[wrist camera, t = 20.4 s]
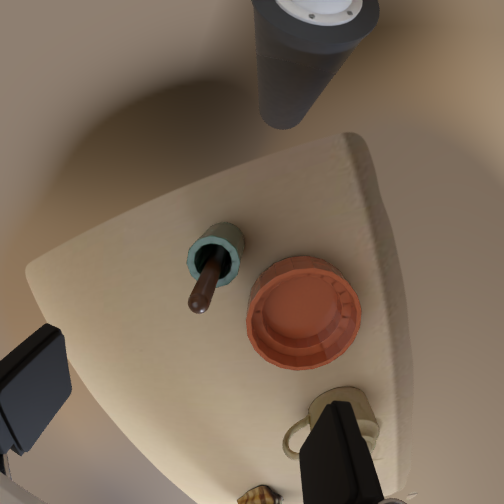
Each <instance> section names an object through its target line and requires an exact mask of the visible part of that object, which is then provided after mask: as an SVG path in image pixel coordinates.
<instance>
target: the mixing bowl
mask: <svg viewBox="0 0 504 504" xmlns="http://www.w3.org/2000/svg"><path fill="white" fill-rule="evenodd" d="M360 322H361V306H360V303H359V299H358V296H357V294H356V292H355V291H354V290H353V288H352V287H351V286H350V284H349V283H348V282H347V280H346V279H345V278H344V277H343V275H342V274H341V273H340V271H339V270H338V269H337V268H336V267H334V266H333V265H331V264H330V263H328V262H326V261H325V260H323V259H319V258H315V257H310V256H299V257H289V258H287V259H284V260H282V261H279V262H276V263H274V264H273V265H272V266H270V267H269V268H268V269H267V270H265V271H264V272H263V273H262V274H261V275H260V276H259V277H258V279H257V281H256V282H255V284H254V285H253V287H252V289H251V292H250V296H249V300H248V307H247V316H246V325H247V335H248V338H249V340H250V342H251V344H252V346H253V348H254V350H255V351H256V352H257V353H258V354H259V355H260V356H262V357H263V358H264V359H265V360H266V361H267V362H270V363H272V364H274V365H276V366H278V367H280V368H285V369H290V370H307V369H314V368H317V367H320V366H323V365H326V364H328V363H330V362H332V361H333V360H335V359H336V358H338V357H339V356H340V355H342V354H343V353H344V352H345V351H346V350H347V348H348V347H349V346H350V345H351V344H352V342H353V341H354V339H355V337H356V335H357V332H358V330H359V328H360Z"/></svg>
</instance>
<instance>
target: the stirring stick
mask: <svg viewBox="0 0 504 504" xmlns="http://www.w3.org/2000/svg"><path fill="white" fill-rule="evenodd" d="M227 253H228V251H227V250H226V249H225V248H224V247H223V246H221V245H217V244H215V246H214V248H213V250H212V252H211V254H210V256H209V258H208V260H207V262H206V264H205V266H204V268H203V270H202V272H201V274H200V276H199V278H198V281H197V283H196V285H195V287H194V289H193V291H192V293H191V295H190V297H189V299H188V306H189V308H190V310H191V311H192V312H194V313H197V314H201V313H204V312H205V311H206V310H207V309H208V308H209V305H210V302H211V299H212V296H213V293H214V290H215V288H216V285H217V282H218V279H219V276H220V273H221V270H222V267H223V265H224V262H225V259H226V256H227Z"/></svg>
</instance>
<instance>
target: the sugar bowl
mask: <svg viewBox="0 0 504 504" xmlns="http://www.w3.org/2000/svg"><path fill="white" fill-rule="evenodd" d="M334 400H336V401H348V402H350V403H351V405H352V408H353V411H354V414H355V417H356V420H357V423H358V426H359V429H360V432H361V435H362V437H363V438H364V439H365V440H366V442H367V445H368V448H369V451H370V454H371V453H372V452H373V450H374V448H375V446H376V440H377V438H378V436H379V426H378V423H377V421H376V418H375V416H374V413H373V411H372V409H371V406H370V404H369V402H368V400H367V398H366V396H365V394H364V393H363V392H362V391H360V390H359V389H356V388H352V387H341V388H336V389H332V390H330V391H327V392H325V393H323V394H322V395H320V396H319V397H317V398H316V399H315V400H314V401H313V403H312V404H311V406H310V408H309V412H308V415H307V416H306V417H305V418H304V419H302V420H300V421H299V422H297V423H296V424H294V425H293V426H292V427H291V428H290V429H289V430H288V431H287V433H286V434H285V436H284V439H283V451H284V453H285V454H286V456H287V457H289V458H290V459H292V460H295V461H299V453H296V452H293V451H292V450H290V449H289V445H288V443H289V439H290V438H291V436H292V435H293V434H294V433H295V432H297V431H298V430H299V429H301V428H303V427H305V426H306V425H308V424H310V430H311V431H312V429H313V427H314V425H315V424H316V422H317V420H318V418H319V417H320V415H321V413H322V411H323V410H324V408H325V406H326V405H327V404H331V402H332V401H334Z"/></svg>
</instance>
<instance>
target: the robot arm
mask: <svg viewBox="0 0 504 504" xmlns="http://www.w3.org/2000/svg"><path fill="white" fill-rule="evenodd" d="M275 1H276V3H277V4H278V5H279V6H280V8H281V9H283V10H284V11H285V12H286V13H288V14H289V15H291V16H293V17H294V18H296V19H299V20H301V21H303V22H307V23H310V24H315V25H320V26H335V25H341V24H345V23H347V22H349V21H351V20H352V19H354V18H355V17H356V16H357V14H358V13H359V12H360V9H361V7H362V2H363V1H362V0H275ZM311 18H312V19H311ZM71 390H72V386H71V380H70V374H69V369H68V362H67V354H66V347H65V338H64V335H63V334H62V332H61V330H60V329H59V328H57V327H55V326H52V325H50V324H48V323H46V324H44V325H43V326H42V327H41V328H39V329H38V330H37V331H35V332H34V333H33V334H32V335H31V336H29V337H28V338H27V339H26V340H25V341H23V342H22V343H21V344H20V345H18V346H17V347H16V348H15V349H14V350H13V351H11V352H10V353H9V354H8V355H7V356H6V357H4V358H3V359H2V360H1V361H0V504H47V503H46V502H44V501H42V500H41V499H39V498H38V497H36V496H34V495H33V494H31V493H30V492H28V491H27V490H25V489H24V488H22V487H20V486H19V485H18V484H16V483H15V482H14V481H12V479H11V474H10V469H9V463H8V457H7V451H8V450H9V449H11V450H13V451H14V452H15V453H17V454H18V455H20V456H22V454H23V453H24V452H28V451H29V450H30V449H31V448H32V446H33V445H34V443H35V442H36V440H37V439H38V438H39V436H40V435H41V433H42V432H43V431H44V429H45V428H46V427H47V425H48V424H49V422H50V421H51V420H52V418H53V417H54V416H55V414H56V413H57V412H58V410H59V409H60V408H61V406H62V405H63V404H64V402H65V401H66V400H67V399H68V397H69V396H70V394H71ZM299 461H300V471H301V481H302V491H303V502H304V504H407V503H405V502H403V501H402V500H399V499H396V498H389V499H384V496H383V493H382V490H381V486H380V483H379V480H378V477H377V473H376V470H375V467H374V464H373V461H372V458H371V455H370V451H369V448H368V445H367V442H366V440H365V439H364V438H363V437H362V435H361V432H360V429H359V426H358V423H357V420H356V417H355V414H354V411H353V408H352V405H351V403H350V402H348V401H336V400H334V401H332V402H331V404H327V405H326V406H325V408H324V410H323V411H322V413H321V415H320V417H319V418H318V420H317V422H316V424H315V425H314V427H313V429H312V431H311V432H310V434H309V436H308V437H307V439H306V441H305V442H304V444H303V445H302V447H301V449H300V452H299Z"/></svg>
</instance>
